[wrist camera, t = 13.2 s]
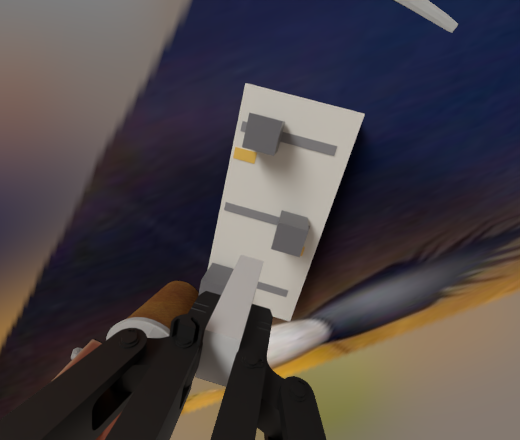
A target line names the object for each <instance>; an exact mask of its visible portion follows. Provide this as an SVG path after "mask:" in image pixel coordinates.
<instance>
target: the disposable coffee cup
mask: <svg viewBox="0 0 520 440" xmlns="http://www.w3.org/2000/svg"><path fill="white" fill-rule="evenodd" d="M198 295H199V293H198V291H197V290H196V289H195V288H194V287H193V286H192V285H190V284H188V283H186V282H183V281H173V282H170V283H168V284H167V285H166V286H165V287H163V288H162V289H161V290H160V291H159V292H158V293H156V294H155V295H154V296H153V297H152V298H151V299H149V300H148V301H147V302H146V303H145V304H143V305H142V306H141V307H140V308H139V309H138V310H136V311H135V312H134V313H133V314H132V315H131V316H129V317H128V318H127V319H125V320H123V321H121V322H119V323H117V324H115V325H114V326H113V327H112V328H111V329H110V331H109V332H108V334H107V337H106V340H107V339H109V338H110V337H111V336H113V335H114V334H115V333H117V332H119V331H120V330H122V329H126V328H138V329H141V330H143V331H144V332H145V333H146V336H147V338H164V337H167V336H169V333H170V326H171V321H172V320H173V319H174V318H175V317H177V316H179V315H183V314H188V312H189V310H190V309H191V307H192V306H193V304H194V303H195V301H196V299H197V297H198Z"/></svg>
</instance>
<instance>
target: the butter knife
mask: <svg viewBox="0 0 520 440" xmlns="http://www.w3.org/2000/svg"><path fill="white" fill-rule="evenodd" d="M395 1H397V2H399V3H400V4H402V5H404V6H406V7H408V8H409V9H411V10H413V11H415V12H416V13H418V14H420V15H421V16H423V17H425V18H426V19H428V20H430V21H432V22H433V23H435V24H437V25H439V26H440V27H442V28H444V29H445V30H447V31H449V32H453V31H454V29H455V28H456V27H457V25H458V23H457V22H455V21H454V20H453V19H452V18H451V17H450V16H448V15H447V14H446V13H445V12H443V11H442V10H441V9H439V8H438V7H436V6H435V5H434V4H432V3H431V2H430V1H428V0H395Z"/></svg>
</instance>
